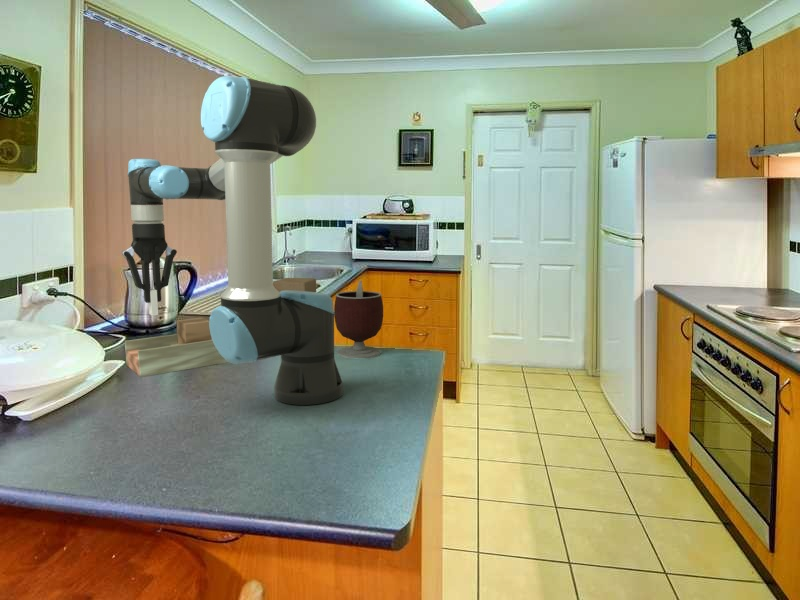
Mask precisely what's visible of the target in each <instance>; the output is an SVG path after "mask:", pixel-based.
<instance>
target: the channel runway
mask: <svg viewBox="0 0 800 600" xmlns="http://www.w3.org/2000/svg"><path fill="white" fill-rule="evenodd" d="M124 349H125V350H124V351H125V362H126V366H127V367H128V368H130V370H132V371H133V372H134V373H136V374H137V375H138V376H139V377H140V378H142V377H150V376H155V375H161V374H162V375H163V374H167V373H172V372H173V373H174V372H178V371H183V370H184V371H185V370H190V369H196V368H201V367H203V368H204V367H208V366H215V365H220V364H226V363H229V362H228V361H227V360H225V359H224V358H223V357H222V356H221V355H220V353H219V352H218V350H217V349H216V347H215V345H214V343H213V340H208V341H201V342H194V343H187V344H180V345H178V335H177V333H174V334H167V335H158V336H152V337H145V338H137V339H131V340H129V339H128V340H124Z"/></svg>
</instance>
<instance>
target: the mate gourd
mask: <svg viewBox="0 0 800 600" xmlns="http://www.w3.org/2000/svg"><path fill="white" fill-rule="evenodd" d="M362 282H363V280H361V279H360V280H359V281H358V284H357V288H356V290H353V291H352V290H351V291H343V292H338V293H336V294H335V300H334V305H333V309H334V313H335V315H334V325H335V328H336V329H337V331H338V332H339V334H340V335H341V336H342V337H344V338H346V339H348V340H351V341H353V342H354V343H353V345H352V346H347V347H346V346H345V347H342V348H340V349H338V350H337V355H338V356H339V355H340V356H339V357H341V356H342V357H341V358H344V357H346V359H350V358H366V359H372V358H376V357H378V355H379V356H380V355H381V353H382V351H381V348H378V347H376V346H366V345H365V341H367V340H369V339H371V338H374V337H377V335H378V333H379V332H380V330H381V329H382V325H383V323H384V303H383V298H382V293H380V292H377V291H369V290H367V291H366V290H364V288H363V283H362ZM371 357H372V358H371Z"/></svg>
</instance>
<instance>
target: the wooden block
mask: <svg viewBox="0 0 800 600" xmlns="http://www.w3.org/2000/svg"><path fill="white" fill-rule="evenodd" d="M273 286H274V288H275V289H276V290H277V291H279V292H280V291H285V290H290V291H307V292H316V293H317V279H316V278H315V277H314V278H312V277H311V278H310V277H309V278H308V277H307V278H306V277H285V278H281V279H277V280H275V281H274V280H273Z"/></svg>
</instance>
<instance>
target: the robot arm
mask: <svg viewBox="0 0 800 600" xmlns="http://www.w3.org/2000/svg"><path fill="white" fill-rule="evenodd" d="M200 109H201V110H200V124H201V129H202V130H203V134H204V136H205V137H206V138H207V139H208V140H210V141H211V142H214V146H215V147H214V150H215V154H216V155H217V156H218V157H220V158H219V159H218V160H217V161H215V162H214V163H213V164H211V165H209V167H207V168H202V167H200V168H199V167H184V166H183V167H182V166H181V167H180V166H176V165H175V166H174V165H166V164H165V165H162V164H161V162H160V160H157V159H153V158H152V159H151V158H150V159H149V158H131V159H130V160H128V165H127V166H128V167H127V170H128V171H127V177H128V187H129V188H128V189H129V201H130V216H131V217H130V218H131V221H132V222H133V223H132V224H131V231H132V232H131V234H132V242H131V244H130V247H129V248H127V249H126V250H122V251H121V254H122V255H121V256H123V257H124V259H125V260H126V262H127V265H128V268H129V271H130V275H131V276H132V281H133V283H134V287H136V288H137V289H141V290H143V300H144V302H145V303H146V304H148V313H149V316H152V317H154V316H159V305H158V303H160V302H162V290H163V289H164V288H165V287H168V286H169V283H170V277H171V273H172V267H173V261H174V258H175V256H176V254H177V253H178V251H177V249H173V248H172V247H170V246H169V245H168V243H167V241H166V231H165V230H166V229H165V224H164V223H163V222H164V221H165V214H164V212H165V211H164V200H217V201H224V200H225V202H224V203H225V227H226V229H225V230H226V256H227V259H226V260H227V280H228V281H227V283H228V284H227V285H228V286H227V288H226V289H225V290H224V291H223V292H222V293H221V294H220V305H219V306H217V307H215V308H213V309H212V311H211V313H210V316H209V319H208V320H209V328H210V334H211V337H212V340H213V343H214V345H215V347H216V349H217V350H218V352H219V353H220V355H221V356H222V357H223V358H224V359H225V360H227V361H228V362H227V363H231V364H234V365H240V364H245V363H249V364H251V363H255V362H257V361H261V360H265V359H269V358H275V357H278V356H280V364H279V365H280V366H279V368H278V372H277V375H276V378H275V382H274V385H273V397H274V398H275V399H276V400H277V401H278V402H281V403H284V404H289V405H293V406H294V405H299V406H307V405H308V406H310V405H320V404H325V403H329V402H333V401H335V400H337V399H339V398H340V397H341V396H343V394H344V386H343V385H344V384H343V380H342V378H341V375H340V372H339V369H338V366H337V362H336V359H335V317H334V315H335V313H334V300H333V298H332V297H331V295H329V294H327V293H323V292H317V291H316V292H307V291H290V290H285V291H280V292H279V291H277V290H276V289H275V288H274V286H273V282H274V274H273V271H274V269H273V263H274V262H273V229H272V228H273V226H272V224H273V223H272V183H271V182H272V180H271V179H272V177H271V170H272V168H271V165H272V164H273V163H274V162H276V161H277V160H279V159H280V158H282V157H291V156H293V155H296V154H297V153H299V152H300V151H301V150H303V149H304V148H305V147H306V146H307V145H308V144H309V143H310V142H311V140H312V139H313V137H314V135H315V132H316V128H317V116H316V111H315V109H314V106H313V105H312V103H311V100H309V99H308V97H307V96H305V94H304V93H302V92H301V91H299V90H298V89H296V88H295V87H291V86H288V85H280V84H276V83H273V82H272V83H271V82H268V81H262V80H258V79H252V78H249V77H248V78H247V77H244V76H241V77H240V76H229V75H224V76H219V77H218V78H216V79H215V80H214V81H212V83H211V84H210V85H209V86H208V88H207V91H206V92H205V94H204V97H203V100H202V104H201V108H200ZM134 253H135V254H136V255H137V256H138V258H139V259H140V263H141V273H142V275H141V276H142V277H141V276H140V272H139V270H138V267H137V264H136V260H135V258H134V256H135V254H134ZM164 254H165V259H164V264H163V270H162V274H161V265H160V264H161V257H162V256H163V255H164ZM150 260H151V266H152V269H151V270H152V280H153V281H152V282H153V284H152V285H153V288H152V287H151V276H150V275H151V273H150ZM141 278H142V279H141Z"/></svg>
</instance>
